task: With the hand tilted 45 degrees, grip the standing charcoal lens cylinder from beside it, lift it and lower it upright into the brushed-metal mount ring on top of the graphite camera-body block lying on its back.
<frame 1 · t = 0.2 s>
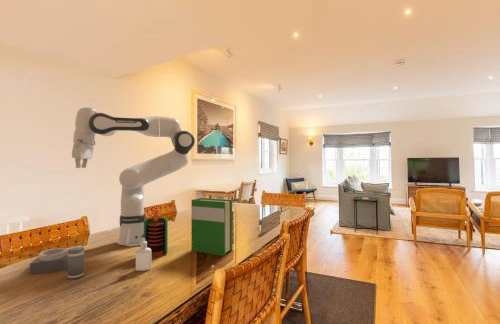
hand: (81, 167, 131), 39 cm above the table, tool pointing down, fingers open, 8 cm apart
eye dropper bottle: (143, 270, 103), on the table
motor: (155, 254, 120), on the table
hardback book: (211, 251, 124), on the table
camera body: (53, 266, 106), on the table
lens: (76, 276, 96), on the table
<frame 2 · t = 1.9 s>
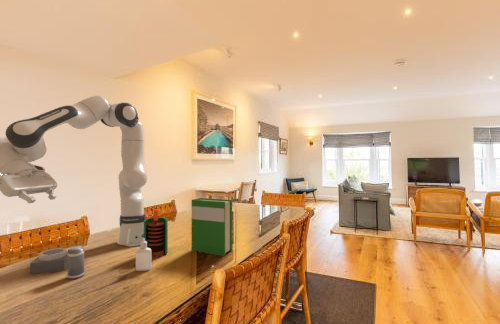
hand: (43, 200, 98), 28 cm above the table, tool tilted 45°, fingers open, 8 cm apart
nothing on the table moved.
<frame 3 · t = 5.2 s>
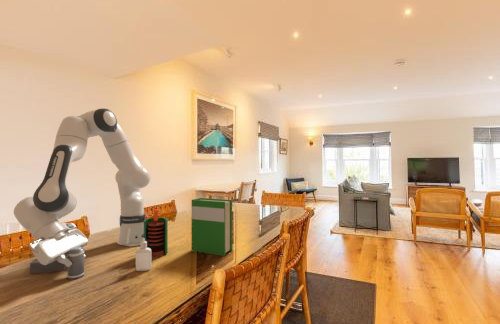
hand: (77, 261, 96), 5 cm above the table, tool tilted 45°, fingers closed on lens, 5 cm apart
lens: (76, 276, 96), on the table, touching gripper
everything else where it was.
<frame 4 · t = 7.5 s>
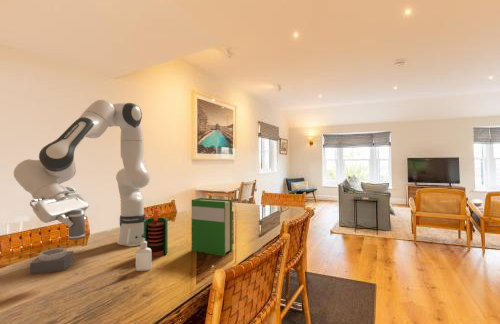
hand: (78, 223, 97), 19 cm above the table, tool tilted 45°, fingers closed on lens, 5 cm apart
lens: (76, 237, 97), point 14 cm above the table, touching gripper
everything else where it was.
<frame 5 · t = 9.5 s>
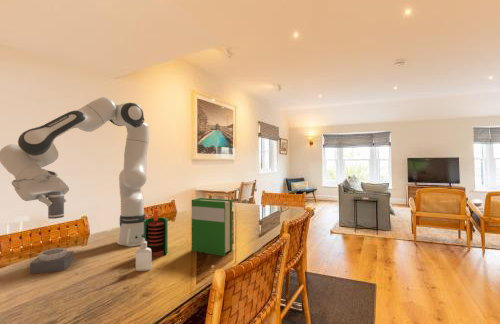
hand: (57, 203, 104), 25 cm above the table, tool tilted 45°, fingers closed on lens, 5 cm apart
lens: (56, 217, 104), point 20 cm above the table, touching gripper
everything else where it was.
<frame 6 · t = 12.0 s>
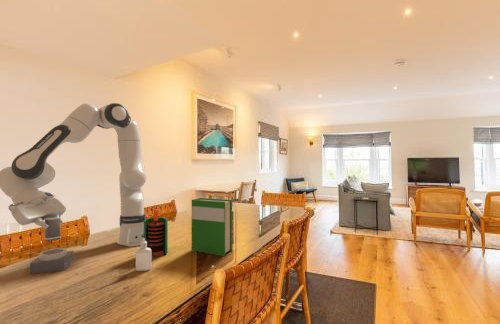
hand: (54, 225, 106), 16 cm above the table, tool tilted 45°, fingers closed on lens, 5 cm apart
lens: (52, 239, 106), point 11 cm above the table, touching gripper
everything else where it was.
when the fingers open (10 cm above the table, at t = 13.9 s): lens stays where it is, resting on camera body.
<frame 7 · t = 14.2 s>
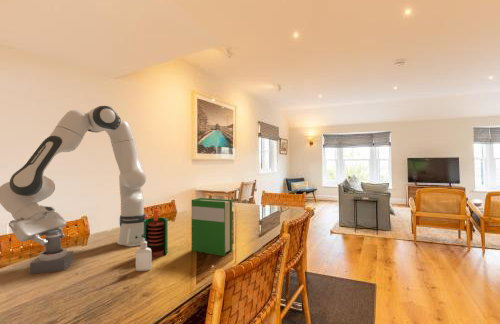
hand: (54, 240, 106), 10 cm above the table, tool tilted 45°, fingers open, 8 cm apart
lens: (53, 256, 106), point 4 cm above the table, touching camera body
everything else where it was.
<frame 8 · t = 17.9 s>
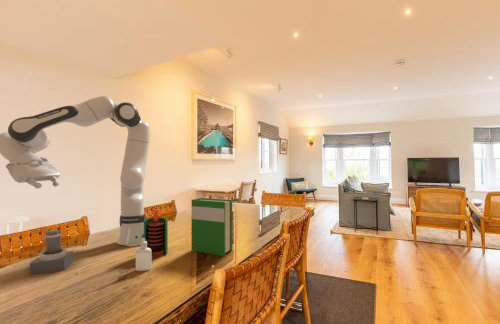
hand: (48, 186, 114), 31 cm above the table, tool tilted 45°, fingers open, 8 cm apart
nothing on the table moved.
at the end: lens 0.1 cm off-centre on the camera body, point 4.0 cm above the camera body's base; lens tilted 0°; the gripper is holding nothing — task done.
